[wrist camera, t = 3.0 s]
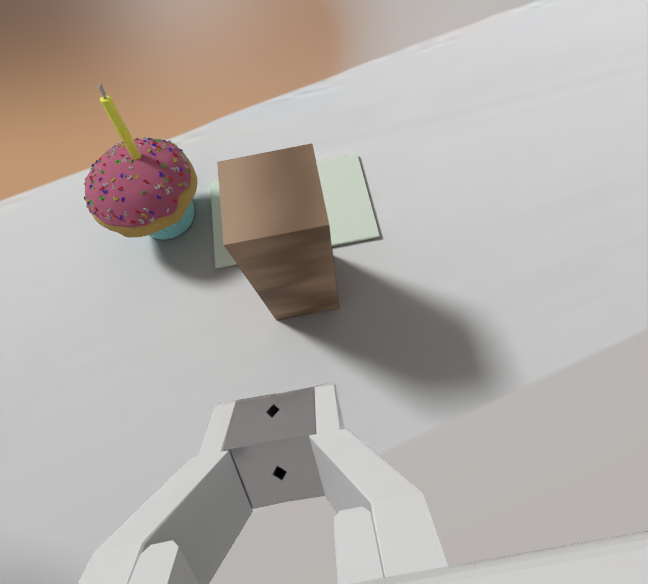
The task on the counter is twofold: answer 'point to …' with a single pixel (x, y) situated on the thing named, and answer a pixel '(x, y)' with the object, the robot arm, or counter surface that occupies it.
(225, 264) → the mat
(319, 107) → the counter surface
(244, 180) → the block
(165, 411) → the counter surface
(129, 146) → the cupcake
